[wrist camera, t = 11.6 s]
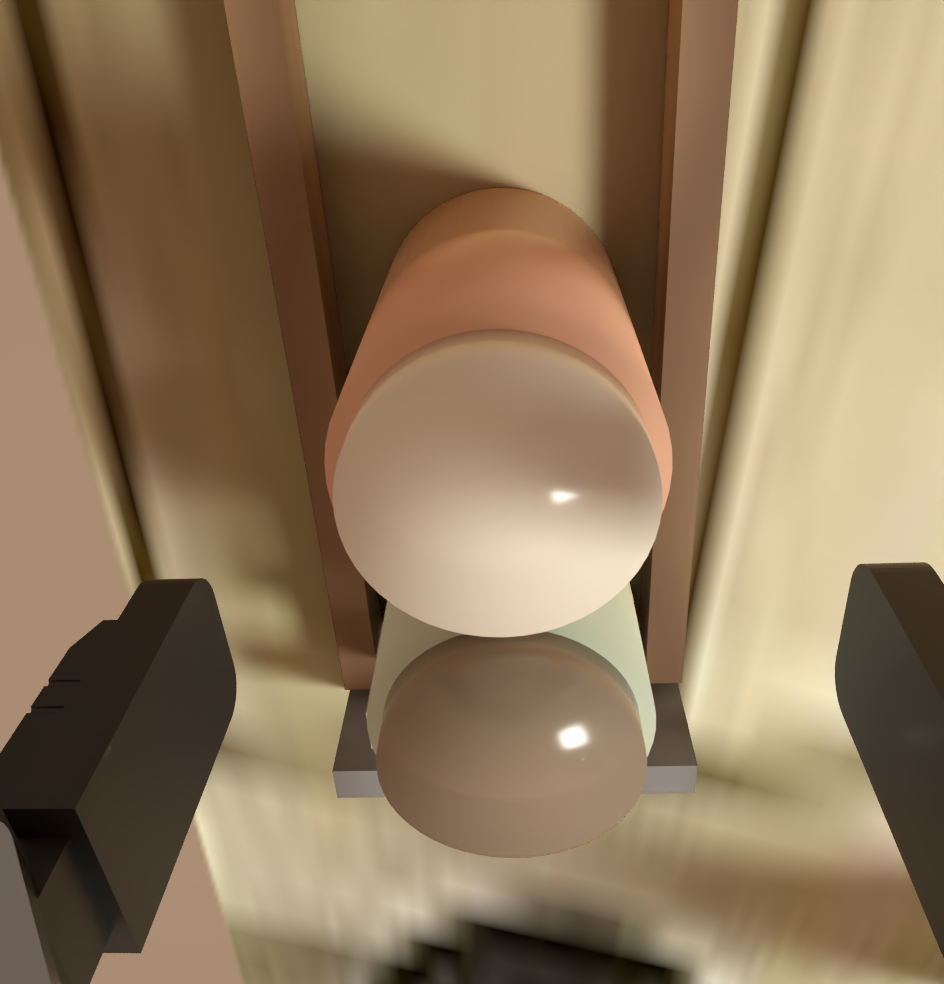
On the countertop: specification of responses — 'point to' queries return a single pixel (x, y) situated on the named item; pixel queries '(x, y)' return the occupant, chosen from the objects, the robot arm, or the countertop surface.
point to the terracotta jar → (499, 424)
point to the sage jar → (513, 730)
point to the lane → (675, 356)
